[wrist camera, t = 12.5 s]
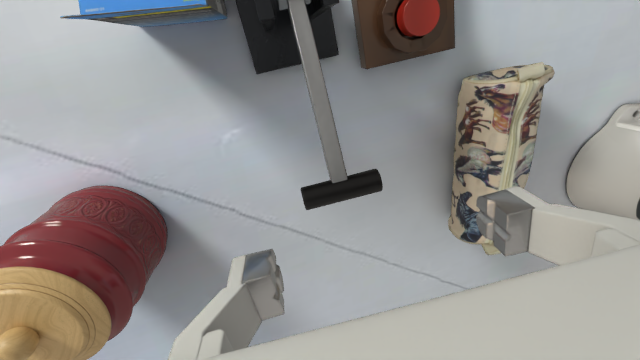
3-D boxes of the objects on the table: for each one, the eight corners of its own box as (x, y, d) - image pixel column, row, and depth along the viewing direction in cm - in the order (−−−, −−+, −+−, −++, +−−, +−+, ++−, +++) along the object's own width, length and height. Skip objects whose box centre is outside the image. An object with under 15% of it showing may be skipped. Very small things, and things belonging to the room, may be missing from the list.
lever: (377, 188, 22) (386, 192, 20) (305, 207, 22) (306, 213, 19) (323, -45, 20) (326, -71, 18) (245, -27, 20) (238, -51, 18)
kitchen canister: (135, 286, 42) (51, 433, 26) (34, 238, 37) (-144, 382, 21) (190, 221, 39) (134, 343, 23) (89, 161, 35) (-68, 261, 19)
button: (430, -9, 29) (439, -12, 28) (432, 32, 31) (441, 31, 29) (394, -1, 29) (401, -4, 27) (398, 40, 31) (405, 39, 29)
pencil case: (488, 212, 46) (540, 252, 37) (434, 221, 45) (474, 264, 36) (513, 55, 37) (590, 58, 28) (446, 62, 36) (503, 68, 27)
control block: (442, -35, 32) (464, -45, 28) (444, 47, 35) (464, 48, 31) (349, -13, 31) (359, -21, 28) (361, 67, 35) (371, 70, 31)
